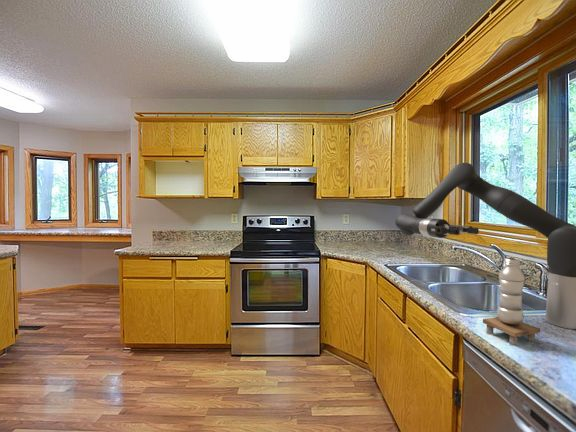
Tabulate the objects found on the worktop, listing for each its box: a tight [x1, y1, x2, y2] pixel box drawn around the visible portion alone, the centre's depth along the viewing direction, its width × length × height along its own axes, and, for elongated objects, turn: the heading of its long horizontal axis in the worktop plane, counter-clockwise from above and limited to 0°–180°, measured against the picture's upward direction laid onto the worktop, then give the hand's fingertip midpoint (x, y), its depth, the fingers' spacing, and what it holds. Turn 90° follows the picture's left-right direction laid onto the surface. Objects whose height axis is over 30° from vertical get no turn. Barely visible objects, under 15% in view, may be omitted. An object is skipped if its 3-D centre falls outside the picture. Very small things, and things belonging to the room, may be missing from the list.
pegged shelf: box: [482, 316, 541, 347], centre depth 90 cm, size 10×10×4 cm
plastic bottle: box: [496, 257, 526, 325], centre depth 89 cm, size 6×7×20 cm
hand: (468, 231), depth 103 cm, fingers open, 8 cm apart
